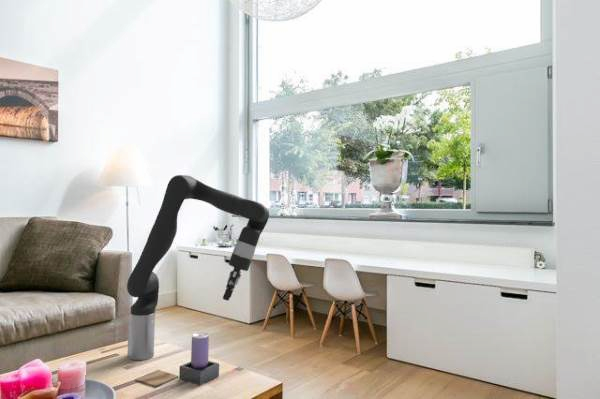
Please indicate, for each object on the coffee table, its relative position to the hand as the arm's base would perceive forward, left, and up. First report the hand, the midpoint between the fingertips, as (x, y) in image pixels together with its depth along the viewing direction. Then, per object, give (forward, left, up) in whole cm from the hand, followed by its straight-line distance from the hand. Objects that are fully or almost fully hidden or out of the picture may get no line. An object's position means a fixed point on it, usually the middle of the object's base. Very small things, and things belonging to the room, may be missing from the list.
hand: (226, 298), depth 156 cm
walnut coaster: (-17, -15, -28) cm, 36 cm away
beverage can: (-6, -6, -28) cm, 29 cm away
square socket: (-6, -6, -28) cm, 29 cm away
